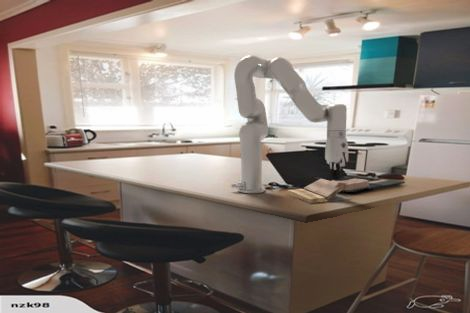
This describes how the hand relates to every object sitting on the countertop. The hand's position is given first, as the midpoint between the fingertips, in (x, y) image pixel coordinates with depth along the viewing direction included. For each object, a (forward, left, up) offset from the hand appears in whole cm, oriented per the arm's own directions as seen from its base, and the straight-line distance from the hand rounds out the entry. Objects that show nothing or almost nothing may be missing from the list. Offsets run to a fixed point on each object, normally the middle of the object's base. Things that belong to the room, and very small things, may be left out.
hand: (335, 178), depth 145 cm
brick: (+17, +11, -9) cm, 22 cm away
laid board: (-11, +5, -8) cm, 15 cm away
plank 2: (-2, 0, -5) cm, 5 cm away
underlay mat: (-5, +5, -8) cm, 11 cm away
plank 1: (-2, +9, -6) cm, 11 cm away
